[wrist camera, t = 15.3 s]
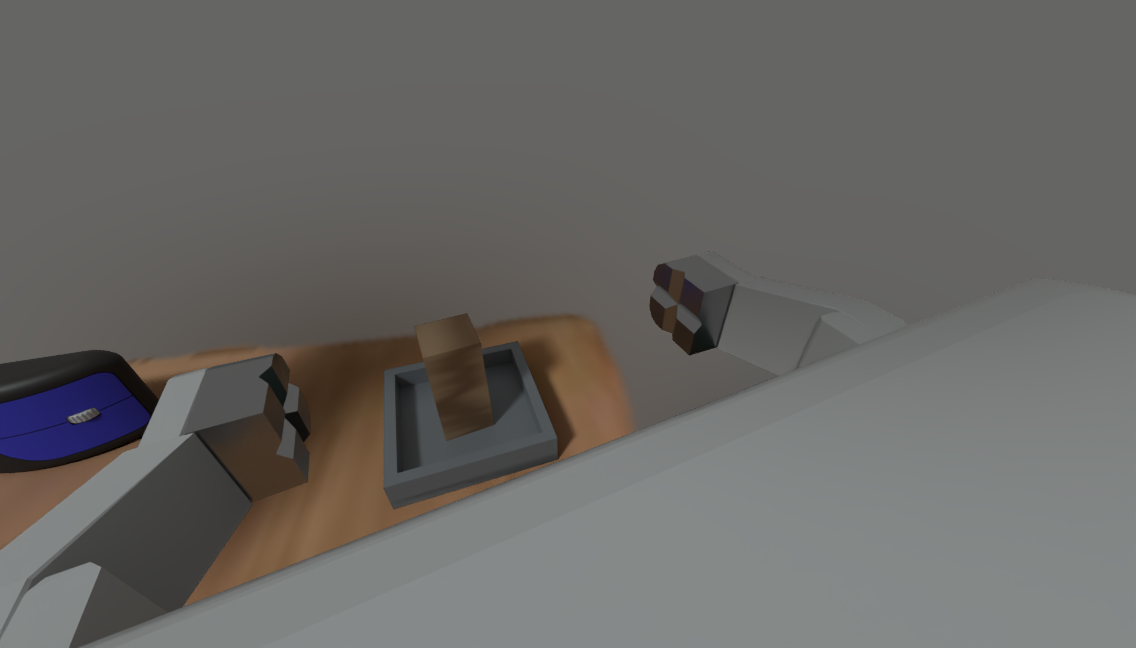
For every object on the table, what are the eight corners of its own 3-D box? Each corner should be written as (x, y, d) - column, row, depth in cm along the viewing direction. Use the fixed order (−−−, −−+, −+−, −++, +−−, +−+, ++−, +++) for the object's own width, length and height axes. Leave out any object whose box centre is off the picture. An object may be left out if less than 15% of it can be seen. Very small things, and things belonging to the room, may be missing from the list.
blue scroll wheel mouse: (-74, 497, 35) (-199, 422, 29) (-28, 452, 38) (-132, 378, 33) (155, 450, 38) (84, 376, 33) (177, 414, 42) (116, 341, 36)
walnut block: (446, 441, 38) (422, 358, 32) (437, 407, 41) (414, 326, 35) (494, 425, 39) (480, 342, 33) (481, 393, 42) (467, 313, 36)
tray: (393, 509, 34) (383, 488, 32) (391, 390, 44) (384, 370, 42) (557, 459, 37) (557, 437, 35) (519, 361, 48) (517, 341, 46)
